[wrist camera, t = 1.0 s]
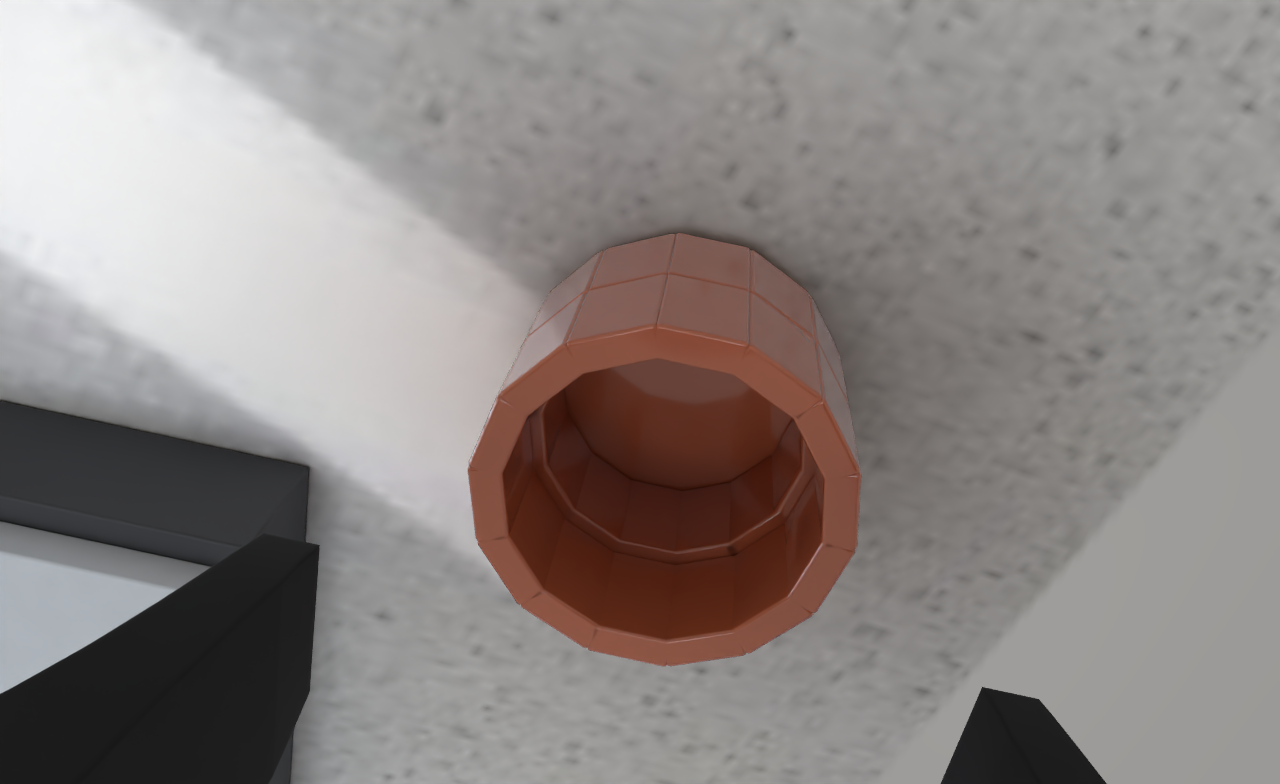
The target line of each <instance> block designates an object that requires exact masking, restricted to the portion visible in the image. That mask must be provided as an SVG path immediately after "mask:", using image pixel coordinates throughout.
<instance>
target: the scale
mask: <svg viewBox="0 0 1280 784" xmlns="http://www.w3.org/2000/svg"><path fill="white" fill-rule="evenodd" d="M308 477H309V468H308V467H305V466H300V465H295V464H291V463H286V462H281V461H277V460H272V459H267V458H263V457H258V456H254V455H249V454H244V453H240V452H235V451H230V450H226V449H221V448H216V447H212V446H207V445H202V444H198V443H193V442H188V441H184V440H179V439H174V438H170V437H165V436H161V435H156V434H151V433H147V432H142V431H137V430H133V429H128V428H123V427H119V426H114V425H109V424H105V423H100V422H95V421H91V420H86V419H81V418H77V417H72V416H68V415H63V414H58V413H54V412H49V411H44V410H40V409H35V408H30V407H26V406H21V405H16V404H12V403H7V402H2V401H0V694H1V693H3V692H5V691H7V690H9V689H10V688H12V687H14V686H16V685H18V684H19V683H21V682H23V681H25V680H27V679H28V678H30V677H32V676H34V675H35V674H37V673H39V672H41V671H43V670H44V669H46V668H48V667H50V666H51V665H53V664H55V663H57V662H59V661H60V660H62V659H64V658H66V657H67V656H69V655H71V654H73V653H75V652H76V651H78V650H80V649H82V648H83V647H85V646H87V645H88V644H90V643H92V642H94V641H95V640H97V639H99V638H100V637H102V636H103V635H105V634H107V633H108V632H110V631H111V630H113V629H115V628H116V627H118V626H120V625H121V624H123V623H124V622H126V621H128V620H129V619H131V618H132V617H134V616H136V615H137V614H139V613H140V612H142V611H144V610H145V609H147V608H148V607H150V606H152V605H153V604H155V603H157V602H158V601H160V600H161V599H163V598H164V597H166V596H167V595H169V594H170V593H172V592H174V591H175V590H177V589H178V588H180V587H181V586H183V585H184V584H186V583H187V582H189V581H190V580H192V579H194V578H195V577H197V576H198V575H200V574H201V573H203V572H204V571H206V570H207V569H209V568H210V567H212V566H213V565H215V564H216V563H218V562H219V561H221V560H222V559H224V558H225V557H227V556H229V555H230V554H232V553H233V552H235V551H236V550H238V549H239V548H241V547H243V546H244V545H246V544H247V543H249V542H251V541H252V540H254V539H255V538H257V537H259V536H260V535H262V534H264V533H265V534H270V535H274V536H279V537H284V538H288V539H293V540H298V541H302V542H305V526H306V509H307V493H308ZM292 738H293V732H292V734H291V737H290V739H289V741H288V743H287V746H286V748H285V750H284V752H283V755H282V757H281V759H280V761H279V764H278V766H277V768H276V770H275V772H274V775H273V777H272V779H271V780H270V782H269V784H290V770H291V754H292Z"/></svg>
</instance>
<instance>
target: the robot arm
mask: <svg viewBox="0 0 1280 784" xmlns="http://www.w3.org/2000/svg"><path fill="white" fill-rule="evenodd" d="M319 546H320V545H316V544H312V543H307V542H302V541H298V540H293V539H288V538H284V537H279V536H274V535H270V534H265V533H264V534H262V535H260V536H259V537H257V538H255V539H254V540H252V541H251V542H249V543H247V544H246V545H244V546H243V547H241V548H239V549H238V550H236V551H235V552H233V553H232V554H230V555H229V556H227V557H225V558H224V559H222V560H221V561H219V562H218V563H216V564H215V565H213V566H212V567H210V568H209V569H207V570H206V571H204V572H203V573H201V574H200V575H198V576H197V577H195V578H194V579H192V580H190V581H189V582H187V583H186V584H184V585H183V586H181V587H180V588H178V589H177V590H175V591H174V592H172V593H170V594H169V595H167V596H166V597H164V598H163V599H161V600H160V601H158V602H157V603H155V604H153V605H152V606H150V607H148V608H147V609H145V610H144V611H142V612H140V613H139V614H137V615H136V616H134V617H132V618H131V619H129V620H128V621H126V622H124V623H123V624H121V625H120V626H118V627H116V628H115V629H113V630H111V631H110V632H108V633H107V634H105V635H103V636H102V637H100V638H99V639H97V640H95V641H94V642H92V643H90V644H88V645H87V646H85V647H83V648H82V649H80V650H78V651H76V652H75V653H73V654H71V655H69V656H67V657H66V658H64V659H62V660H60V661H59V662H57V663H55V664H53V665H51V666H50V667H48V668H46V669H44V670H43V671H41V672H39V673H37V674H35V675H34V676H32V677H30V678H28V679H27V680H25V681H23V682H21V683H19V684H18V685H16V686H14V687H12V688H10V689H9V690H7V691H5V692H3V693H1V694H0V784H269V782H270V780H271V779H272V777H273V775H274V772H275V770H276V768H277V766H278V764H279V761H280V759H281V757H282V755H283V752H284V750H285V748H286V746H287V743H288V741H289V739H290V737H291V734H292V732H293V729H294V727H295V725H296V722H297V720H298V718H299V715H300V713H301V711H302V708H303V706H304V703H305V701H306V699H307V696H308V694H309V692H310V678H311V663H312V649H313V634H314V619H315V605H316V590H317V575H318V561H319ZM941 784H1106V782H1105V781H1104V780H1103V779H1102V777H1101V776H1100V775H1099V774H1098V772H1097V771H1096V770H1095V769H1094V767H1093V766H1092V765H1091V763H1090V762H1089V761H1088V759H1087V758H1086V757H1085V756H1084V754H1083V753H1082V752H1081V751H1080V749H1079V748H1078V747H1077V746H1076V744H1075V743H1074V742H1073V740H1072V739H1071V738H1070V737H1069V735H1068V734H1067V733H1066V732H1065V731H1064V729H1063V728H1062V727H1061V725H1060V724H1059V723H1058V722H1057V720H1056V719H1055V718H1054V717H1053V715H1052V714H1051V713H1050V712H1049V711H1048V709H1046V707H1045V706H1044V705H1043V704H1042V703H1041V701H1040V700H1039V699H1035V698H1031V697H1026V696H1021V695H1017V694H1012V693H1007V692H1003V691H998V690H993V689H989V688H984V687H982V689H981V691H980V694H979V696H978V699H977V701H976V703H975V706H974V708H973V710H972V712H971V715H970V717H969V719H968V722H967V724H966V726H965V728H964V731H963V733H962V735H961V738H960V740H959V742H958V745H957V747H956V750H955V752H954V754H953V756H952V759H951V761H950V763H949V766H948V768H947V770H946V773H945V775H944V778H943V780H942V782H941Z"/></svg>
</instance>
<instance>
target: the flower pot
mask: <svg viewBox="0 0 1280 784" xmlns="http://www.w3.org/2000/svg"><path fill="white" fill-rule="evenodd" d="M468 476H469V485H470V493H471V502H472V510H473V518H474V527H475V535H476V539H477V541H478V545H479V546H480V548H481V549H482V551H483V552H484V554H485V555H486V557H487V558H488V560H489V561H490V563H491V564H492V566H493V567H494V569H495V570H496V572H497V573H498V575H499V576H500V578H501V579H502V581H503V582H504V584H505V585H506V587H507V588H508V590H509V591H510V593H511V594H512V596H513V597H514V599H515V600H516V602H517V603H518V604H519V605H521V606H522V608H523V609H525V610H527V611H528V612H530V613H531V614H533V615H534V616H536V617H537V618H539V619H540V620H542V621H543V622H545V623H547V624H548V625H550V626H551V627H553V628H554V629H556V630H557V631H559V632H560V633H562V634H564V635H565V636H567V637H568V638H570V639H571V640H573V641H574V642H576V643H577V644H579V645H580V646H582V647H584V648H587V647H588V650H590V651H594V652H599V653H604V654H608V655H613V656H618V657H622V658H627V659H631V660H636V661H641V662H645V663H650V664H655V665H659V666H666V665H668V666H676V665H683V664H689V663H696V662H703V661H710V660H716V659H723V658H730V657H737V656H743V655H745V654H746V653H751V652H753V651H755V650H756V649H758V648H760V647H761V646H763V645H765V644H766V643H768V642H770V641H771V640H773V639H775V638H776V637H778V636H780V635H781V634H783V633H785V632H786V631H788V630H790V629H791V628H793V627H795V626H796V625H798V624H800V623H801V622H803V621H805V620H807V619H808V618H810V617H811V616H812V615H813V614H814V613H815V612H817V610H818V609H819V607H820V606H821V604H822V603H823V601H824V600H825V598H826V597H827V595H828V593H829V592H830V590H831V589H832V587H833V586H834V584H835V583H836V581H837V580H838V578H839V577H840V575H841V573H842V572H843V570H844V569H845V567H846V566H847V564H848V563H849V561H850V560H851V558H852V557H853V555H854V553H855V549H856V547H857V544H858V527H859V510H860V494H861V477H862V476H861V470H860V464H859V459H858V453H857V448H856V442H855V436H854V431H853V425H852V419H851V414H850V409H849V403H848V398H847V392H846V386H845V381H844V375H843V369H842V364H841V359H840V355H839V352H838V349H837V347H836V345H835V343H834V341H833V339H832V337H831V335H830V333H829V331H828V329H827V327H826V325H825V323H824V320H823V318H822V316H821V314H820V312H819V310H818V308H817V306H816V304H815V302H814V300H813V298H811V297H810V296H809V293H808V292H807V291H806V290H805V289H804V288H802V287H801V286H800V285H799V284H797V283H796V282H795V281H793V280H792V279H791V278H789V277H788V276H787V275H785V274H784V273H783V272H781V271H780V270H779V269H778V268H776V267H775V266H774V265H772V264H771V263H770V262H768V261H767V260H766V259H764V258H763V257H762V256H760V255H759V254H758V253H757V252H755V251H752V250H751V251H750V249H749V248H748V247H743V246H739V245H734V244H729V243H725V242H720V241H715V240H711V239H706V238H701V237H696V236H692V235H687V234H682V233H677V234H676V235H675V234H668V235H663V236H659V237H654V238H650V239H646V240H641V241H637V242H632V243H628V244H624V245H619V246H615V247H611V248H607V249H605V250H604V251H603V250H602V251H600V252H598V253H597V254H596V255H595V256H593V257H592V258H591V259H590V260H588V261H587V262H586V263H585V264H584V265H582V266H581V267H580V268H579V269H577V270H576V271H575V272H574V273H572V274H571V275H570V276H569V277H567V278H566V279H565V280H564V281H563V282H561V283H560V284H559V285H558V286H556V287H555V288H554V289H553V290H551V291H550V293H549V295H547V296H546V298H545V300H544V302H543V304H542V306H541V308H540V310H539V312H538V314H537V316H536V318H535V320H534V322H533V324H532V326H531V328H530V330H529V332H528V334H527V336H526V338H525V341H524V343H523V344H522V346H521V348H520V350H519V352H518V354H517V356H516V358H515V360H514V362H513V365H512V367H511V369H510V371H509V373H508V375H507V377H506V379H505V381H504V383H503V385H502V387H501V389H500V391H499V393H498V395H497V397H496V399H495V401H494V404H493V406H492V408H491V411H490V413H489V415H488V418H487V420H486V422H485V425H484V427H483V430H482V432H481V434H480V437H479V439H478V441H477V444H476V446H475V448H474V451H473V453H472V456H471V458H470V460H469V467H468Z"/></svg>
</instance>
